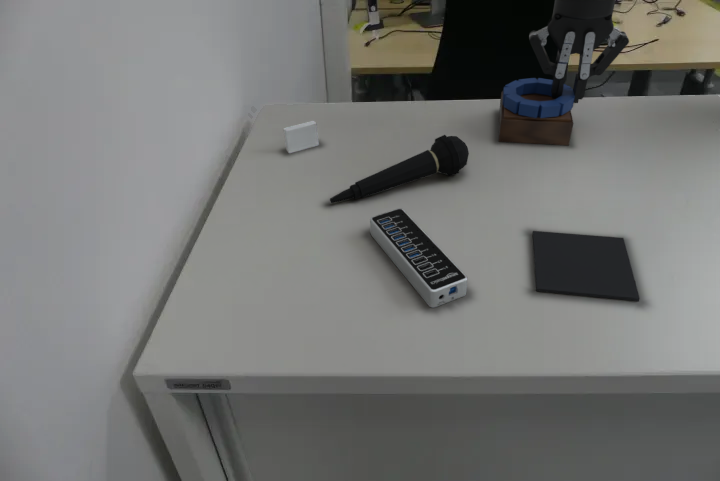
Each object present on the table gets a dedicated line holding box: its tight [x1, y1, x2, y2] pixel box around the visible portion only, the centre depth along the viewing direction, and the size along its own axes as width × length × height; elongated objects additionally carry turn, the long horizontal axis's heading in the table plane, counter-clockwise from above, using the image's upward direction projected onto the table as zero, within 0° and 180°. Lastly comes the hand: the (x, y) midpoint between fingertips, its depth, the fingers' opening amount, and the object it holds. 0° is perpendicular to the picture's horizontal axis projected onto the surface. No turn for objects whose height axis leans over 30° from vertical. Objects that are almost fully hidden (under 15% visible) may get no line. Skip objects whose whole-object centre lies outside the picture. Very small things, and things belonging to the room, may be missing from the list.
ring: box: [502, 77, 575, 118], centre depth 83 cm, size 10×10×2 cm
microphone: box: [329, 134, 470, 204], centre depth 74 cm, size 6×6×20 cm
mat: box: [532, 230, 641, 302], centre depth 61 cm, size 10×10×1 cm
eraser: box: [282, 120, 320, 154], centre depth 84 cm, size 1×5×4 cm, turn 116°
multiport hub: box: [369, 208, 468, 309], centre depth 62 cm, size 4×14×2 cm, turn 25°
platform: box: [498, 91, 574, 146], centre depth 85 cm, size 10×10×4 cm
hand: (565, 100), depth 83 cm, fingers closed on ring, 2 cm apart
